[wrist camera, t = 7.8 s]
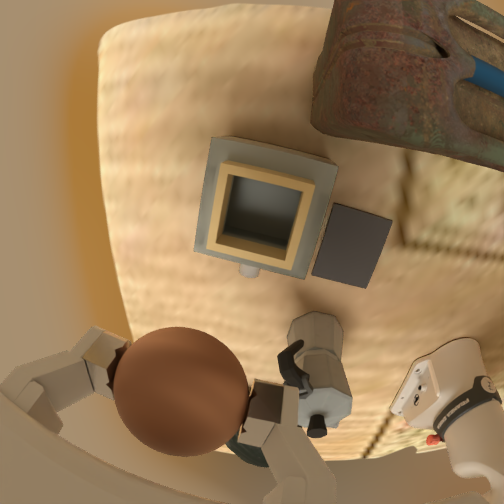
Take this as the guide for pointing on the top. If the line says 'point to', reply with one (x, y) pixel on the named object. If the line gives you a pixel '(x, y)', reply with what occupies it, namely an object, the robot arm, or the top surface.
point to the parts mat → (351, 246)
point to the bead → (181, 391)
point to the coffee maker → (316, 372)
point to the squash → (248, 451)
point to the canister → (414, 77)
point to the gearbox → (263, 205)
